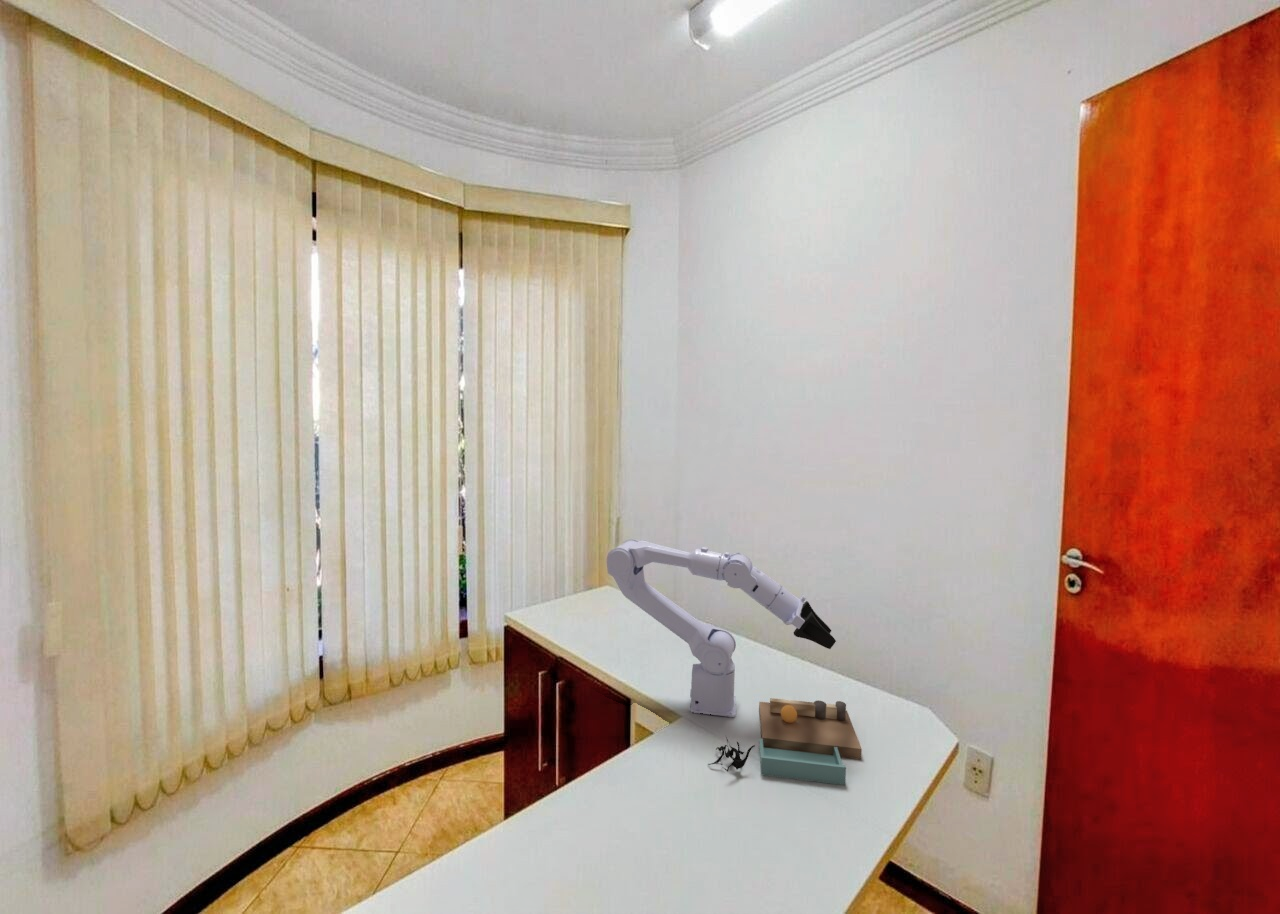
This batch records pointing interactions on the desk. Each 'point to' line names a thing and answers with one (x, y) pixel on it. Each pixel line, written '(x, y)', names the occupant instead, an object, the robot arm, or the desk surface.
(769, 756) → the teal shallow crate
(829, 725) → the board
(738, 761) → the creature
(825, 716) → the lever
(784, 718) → the ball
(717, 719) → the desk surface
